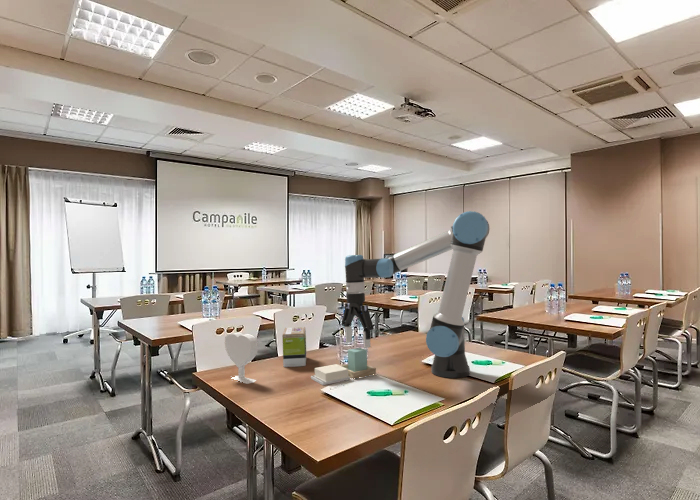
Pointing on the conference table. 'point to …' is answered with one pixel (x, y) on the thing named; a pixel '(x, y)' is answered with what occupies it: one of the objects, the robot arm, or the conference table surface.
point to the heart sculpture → (241, 352)
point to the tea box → (294, 347)
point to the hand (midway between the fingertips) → (357, 344)
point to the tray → (361, 372)
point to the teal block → (357, 359)
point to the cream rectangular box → (330, 374)
